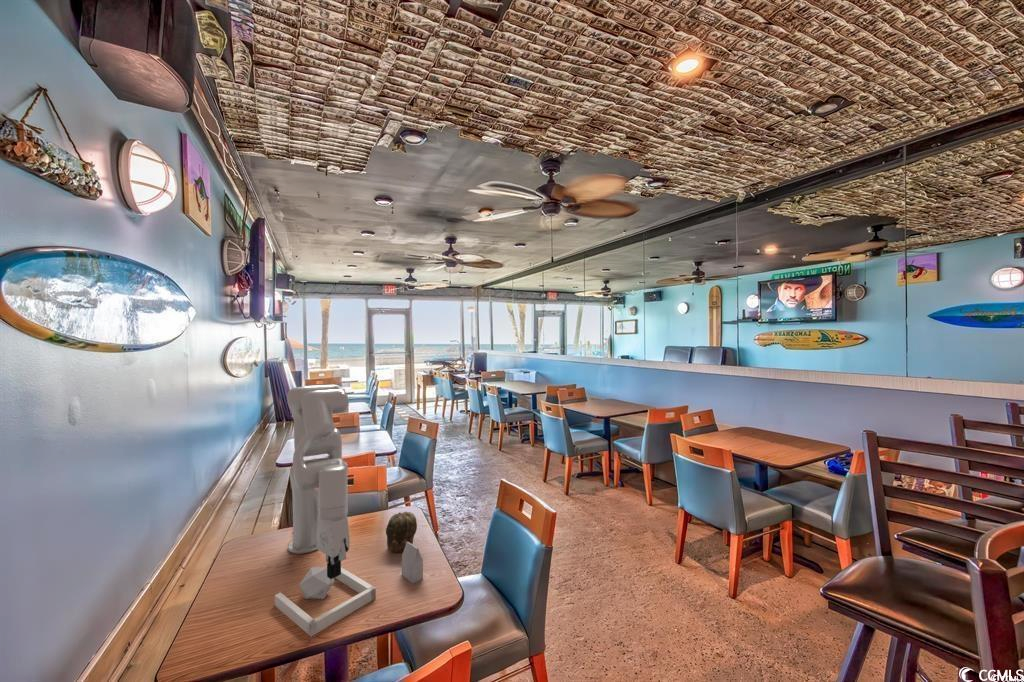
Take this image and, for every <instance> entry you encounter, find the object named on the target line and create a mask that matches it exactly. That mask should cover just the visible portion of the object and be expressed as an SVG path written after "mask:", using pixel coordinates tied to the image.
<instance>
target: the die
mask: <svg viewBox="0 0 1024 682" xmlns="http://www.w3.org/2000/svg"><path fill="white" fill-rule="evenodd" d="M335 581H336V580H335V578H333V579H330V578H328V577H327V566H324V567H323V566H318V567H317V566H316V567H313V566H312V567H310V568H309V570H308V572H307V573H306V574H305V576H304V577H303V579H302V580H301V582H300V583H299V587H300V589H301V591H302V593H303V595H304V598H305V600H324V599H326V597H327V594H328V593H329V592H330V590H331V588H332V586H333V584H335Z"/></svg>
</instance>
